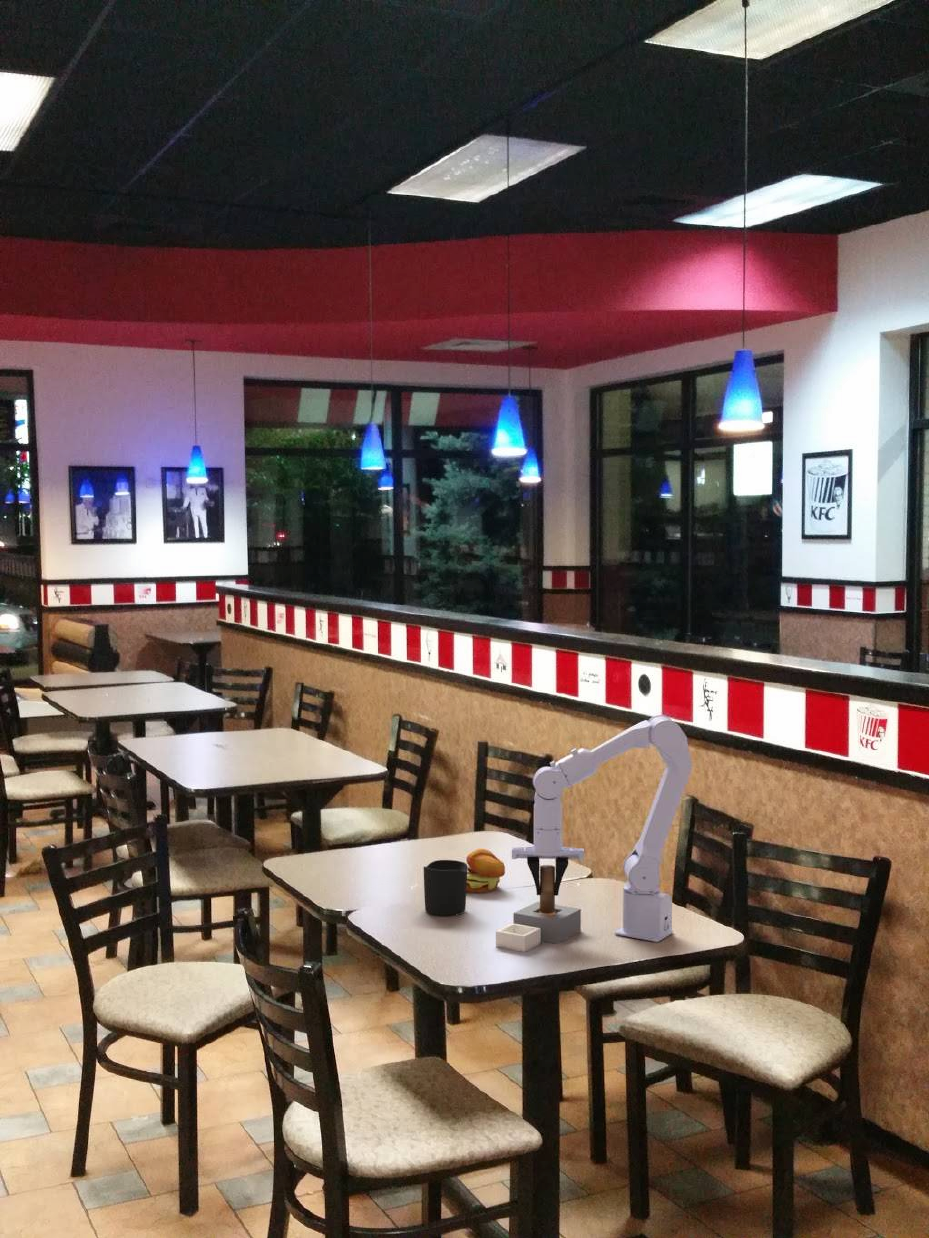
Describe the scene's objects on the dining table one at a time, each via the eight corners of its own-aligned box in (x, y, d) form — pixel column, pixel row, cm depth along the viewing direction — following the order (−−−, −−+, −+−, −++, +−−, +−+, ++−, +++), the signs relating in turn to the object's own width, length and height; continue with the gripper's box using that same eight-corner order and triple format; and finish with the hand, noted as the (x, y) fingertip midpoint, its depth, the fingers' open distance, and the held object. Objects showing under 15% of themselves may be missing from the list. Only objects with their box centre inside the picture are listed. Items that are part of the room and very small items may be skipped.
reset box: (580, 930, 249) (580, 908, 248) (557, 943, 240) (557, 920, 240) (537, 923, 254) (537, 901, 254) (513, 935, 246) (513, 912, 245)
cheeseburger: (468, 879, 289) (478, 840, 287) (507, 896, 284) (516, 856, 282) (446, 888, 280) (455, 847, 279) (485, 906, 275) (495, 864, 273)
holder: (540, 943, 240) (540, 928, 240) (524, 951, 235) (524, 936, 235) (512, 938, 244) (512, 923, 244) (495, 946, 238) (495, 931, 238)
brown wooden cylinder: (557, 910, 247) (557, 866, 247) (549, 913, 245) (550, 869, 244) (544, 908, 249) (545, 864, 249) (536, 911, 247) (537, 867, 246)
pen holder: (474, 913, 261) (474, 867, 260) (435, 919, 256) (435, 872, 256) (455, 903, 269) (455, 858, 269) (416, 908, 265) (416, 862, 264)
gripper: (582, 823, 250) (582, 889, 250) (511, 822, 251) (511, 888, 251) (584, 831, 243) (584, 898, 243) (511, 830, 244) (511, 897, 244)
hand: (547, 894), depth 247 cm, fingers closed on brown wooden cylinder, 3 cm apart
